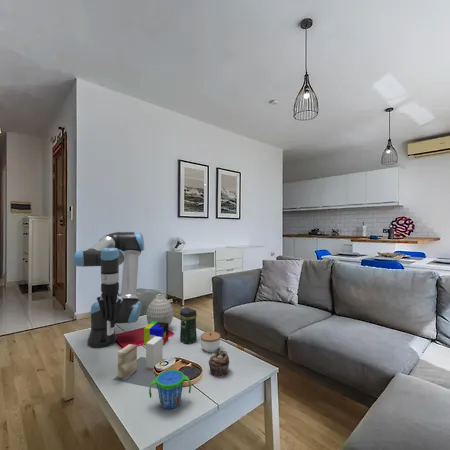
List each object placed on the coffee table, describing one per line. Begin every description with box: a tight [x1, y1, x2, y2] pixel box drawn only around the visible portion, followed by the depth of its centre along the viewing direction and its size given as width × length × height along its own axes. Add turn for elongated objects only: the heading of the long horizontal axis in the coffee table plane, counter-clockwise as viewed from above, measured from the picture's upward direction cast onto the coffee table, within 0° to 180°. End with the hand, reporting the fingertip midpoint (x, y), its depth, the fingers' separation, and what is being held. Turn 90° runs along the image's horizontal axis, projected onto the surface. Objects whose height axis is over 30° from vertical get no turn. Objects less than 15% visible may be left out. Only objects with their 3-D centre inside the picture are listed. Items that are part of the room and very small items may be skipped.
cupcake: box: [208, 349, 230, 378], centre depth 127 cm, size 10×10×10 cm
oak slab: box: [117, 343, 138, 381], centre depth 124 cm, size 4×8×12 cm, turn 163°
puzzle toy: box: [143, 322, 169, 346], centre depth 157 cm, size 10×10×10 cm
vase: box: [146, 293, 174, 328], centre depth 174 cm, size 16×16×22 cm
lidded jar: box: [199, 331, 221, 354], centre depth 149 cm, size 11×11×9 cm
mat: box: [112, 356, 158, 390], centre depth 127 cm, size 26×21×1 cm
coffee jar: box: [179, 306, 198, 344], centre depth 160 cm, size 10×8×19 cm
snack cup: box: [148, 370, 192, 410], centre depth 106 cm, size 16×10×10 cm
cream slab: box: [145, 336, 164, 370], centre depth 132 cm, size 4×8×12 cm, turn 163°
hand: (110, 334), depth 126 cm, fingers closed
